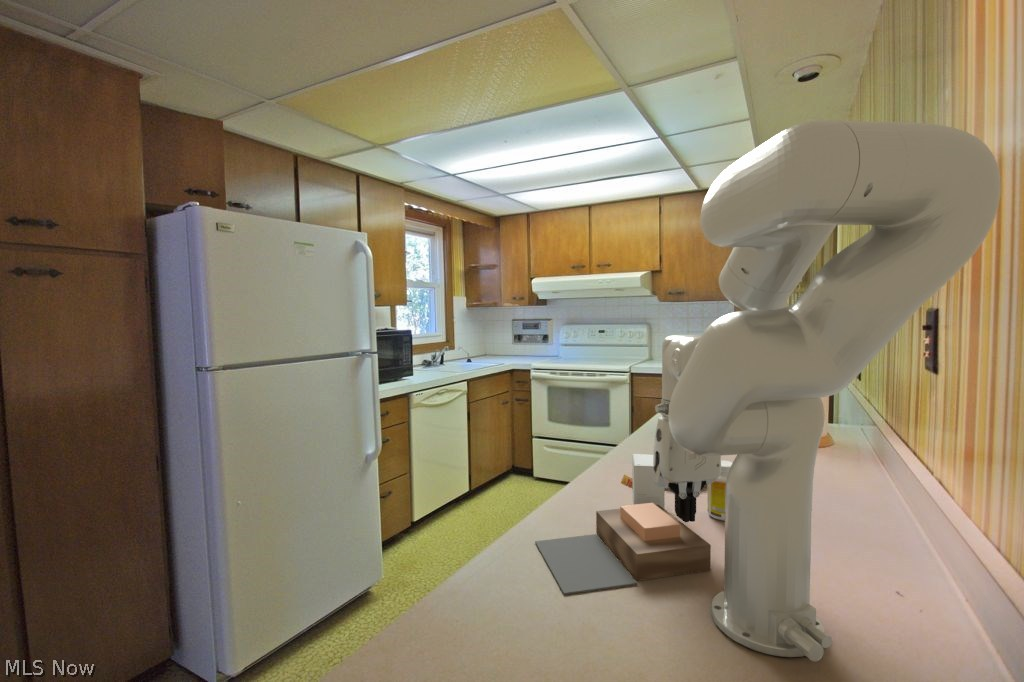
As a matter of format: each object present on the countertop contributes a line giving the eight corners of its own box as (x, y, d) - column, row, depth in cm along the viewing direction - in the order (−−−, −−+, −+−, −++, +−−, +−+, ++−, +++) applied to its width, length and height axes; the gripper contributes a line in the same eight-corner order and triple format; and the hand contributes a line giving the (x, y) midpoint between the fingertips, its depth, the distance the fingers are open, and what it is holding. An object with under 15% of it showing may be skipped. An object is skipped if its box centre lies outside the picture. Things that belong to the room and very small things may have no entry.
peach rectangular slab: (680, 536, 78) (680, 524, 78) (644, 541, 77) (644, 528, 77) (652, 513, 87) (652, 502, 87) (620, 517, 85) (620, 506, 85)
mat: (636, 584, 72) (637, 582, 72) (564, 595, 70) (564, 592, 70) (595, 535, 87) (595, 534, 87) (535, 542, 85) (535, 541, 85)
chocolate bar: (653, 503, 103) (653, 492, 102) (619, 484, 114) (619, 475, 113) (663, 501, 104) (663, 490, 103) (629, 483, 115) (629, 473, 114)
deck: (710, 570, 75) (710, 544, 75) (637, 580, 73) (637, 554, 73) (658, 525, 91) (658, 504, 91) (596, 533, 88) (596, 511, 88)
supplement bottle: (744, 521, 92) (745, 467, 91) (715, 522, 92) (715, 468, 91) (730, 509, 98) (731, 458, 97) (702, 510, 98) (702, 459, 97)
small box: (664, 522, 93) (665, 466, 92) (633, 520, 94) (633, 465, 93) (660, 505, 100) (660, 454, 100) (632, 503, 102) (632, 453, 101)
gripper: (654, 417, 77) (654, 533, 78) (741, 411, 80) (739, 523, 81) (633, 408, 84) (633, 514, 85) (713, 403, 87) (712, 505, 88)
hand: (685, 518), depth 83 cm, fingers closed
